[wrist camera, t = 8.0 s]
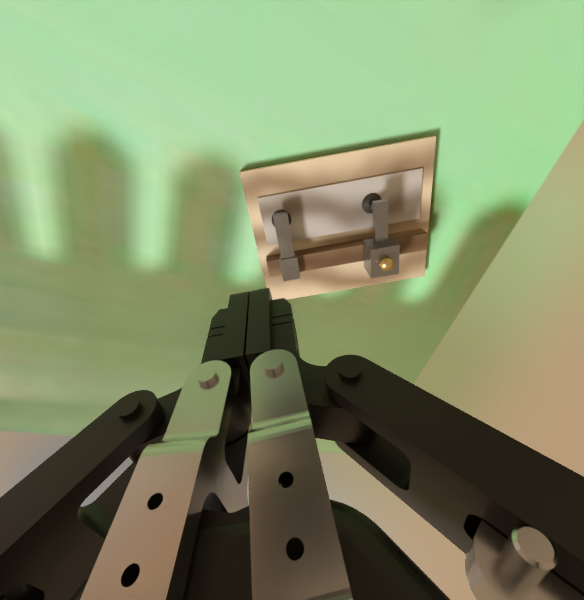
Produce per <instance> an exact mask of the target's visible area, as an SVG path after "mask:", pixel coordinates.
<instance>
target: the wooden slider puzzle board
mask: <svg viewBox="0 0 584 600" xmlns="http://www.w3.org/2000/svg"><path fill="white" fill-rule="evenodd" d="M435 146H436V136H427V137H422V138H416V139H411V140H405V141H400V142H395V143H389V144H384V145H378V146H373V147H367V148H362V149H357V150H351V151H346V152H340V153H335V154H329V155H324V156H318V157H313V158H308V159H302V160H297V161H291V162H286V163H280V164H275V165H270V166H264V167H259V168H253V169H248V170H242V171H240V177H241V181H242V185H243V189H244V194H245V198H246V202H247V206H248V211H249V215H250V219H251V223H252V228H253V232H254V236H255V240H256V245H257V249H258V253H259V257H260V262H261V266H262V270H263V274H264V279H265V283H266V287H267V288H269V289H270V292H271V296H272V300H275V299H281V298H285V299H286V300H287V299H293V298H299V297H304V296H310V295H316V294H322V293H328V292H333V291H339V290H345V289H351V288H356V287H362V286H368V285H374V284H380V283H385V282H391V281H397V280H403V279H409V278H414V277H420V276H425V265H426V253H427V241H428V229H429V217H430V205H431V193H432V181H433V169H434V158H435ZM382 199H387V200H388V201H389V202H388V235H390V236H391V237H392V238H393V239H394V240H395V241H396V242H397V243H398V244H399V245H400V254H399V274H395V275H389V276H383V277H378V278H372V279H371V277H370V276H369V274H368V273H367V271H366V270H365V268H364V257H363V240H366V239H371V238H373V210H372V209H371V208H370V207H369V205H368V204H369V202H370V201H371V200H374V201H376V200H382ZM286 211H287V213H288V219H289V225H290V231H291V237H292V243H293V249H294V254H297V259H298V265H299V272H300V278H301V279H295V280H289V281H284V282H283V277H282V272H281V267H280V262H279V257H280V256H281V255H280V250H279V245H278V240H277V234H276V229H275V224H274V219H273V214H275V213H281V212H286Z"/></svg>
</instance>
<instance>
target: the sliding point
mask: <svg viewBox="0 0 584 600" xmlns="http://www.w3.org/2000/svg"><path fill="white" fill-rule="evenodd" d="M388 202H389V201H388V200H387V199H382V200H376V201H374V200H371V201H370V202H369V204H368V205H369V207H370V208H371V209H372V210H373V238H371V239H366V240H363V257H364V268H365V270H366V271H367V273H368V274H369V276H370V277H371V279H372V278H378V277H383V276H389V275H395V274H399V254H400V245H399V244H398V243H397V242H396V241H395V240H394V239H393V238H392V237H391V236H390V235H388Z"/></svg>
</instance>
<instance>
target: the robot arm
mask: <svg viewBox="0 0 584 600" xmlns="http://www.w3.org/2000/svg"><path fill="white" fill-rule="evenodd" d="M251 414H252V421H251ZM315 438H320V439H326V440H332V441H335V442H336V444H337V445H338V446H339V447H340V448H341V449H342V450H343V451H344V452H345V453H346V454H348V455H349V456H350V457H351V458H352V459H354V460H355V461H356V462H357V463H358V464H359V465H361V466H362V467H363V468H364V469H365V470H367V471H368V472H369V473H370V474H371V475H373V476H374V477H375V478H376V479H377V480H379V481H380V482H381V483H382V484H383V485H384V486H386V487H387V488H388V489H389V490H390V491H392V492H393V493H394V494H395V495H396V496H398V497H399V498H400V499H401V500H402V501H404V502H405V503H406V504H407V505H408V506H409V507H411V508H412V509H413V510H414V511H415V512H417V513H418V514H419V515H420V516H421V517H423V518H424V519H425V520H426V521H427V522H429V523H430V524H431V525H432V526H433V527H434V528H436V529H437V530H438V531H439V532H441V533H442V534H443V535H444V536H445V537H446V538H447V539H449V540H450V541H451V542H452V543H453V544H455V545H456V546H457V547H458V548H459V549H461V550H462V551H463V552H464V553H465V554H466V559H465V569H466V576H467V579H468V582H469V585H470V587H471V590H472V592H473V594H474V595H475V597H476V599H477V600H584V477H583V476H581V475H579V474H577V473H576V472H573V471H572V470H570V469H568V468H566V467H565V466H563V465H561V464H559V463H557V462H555V461H554V460H552V459H550V458H548V457H546V456H544V455H542V454H540V453H539V452H537V451H535V450H533V449H531V448H529V447H528V446H526V445H524V444H522V443H520V442H518V441H517V440H515V439H513V438H511V437H509V436H507V435H506V434H504V433H502V432H500V431H498V430H496V429H495V428H493V427H491V426H489V425H487V424H485V423H484V422H482V421H480V420H478V419H476V418H474V417H472V416H471V415H469V414H467V413H465V412H463V411H461V410H460V409H458V408H456V407H454V406H452V405H450V404H448V403H446V402H445V401H443V400H441V399H439V398H437V397H436V396H434V395H432V394H430V393H428V392H426V391H425V390H423V389H421V388H419V387H417V386H415V385H414V384H412V383H410V382H408V381H406V380H404V379H402V378H401V377H399V376H397V375H395V374H393V373H391V372H390V371H388V370H386V369H384V368H382V367H380V366H379V365H377V364H375V363H373V362H371V361H369V360H367V359H366V358H363V357H361V356H357V355H344V356H340V357H337V358H335V359H334V360H332V361H331V362H330V363H329V364H328V365H327V367H326V366H316V365H312V364H309V363H307V362H305V361H303V360H302V359H301V358H300V354H299V347H298V340H297V334H296V329H295V324H294V319H293V314H292V309H291V304H290V303H289V302H288V301H287V300H286V299H285V298H281V299H275V300H272V296H271V292H270V289H269V288H265V289H259V290H254V291H250V292H243V293H238V294H232V295H230V299H229V304H228V308H226V309H221V310H219V311H218V312H217V313H216V314H215V316H214V317H213V318H212V321H211V325H210V330H209V333H208V338H207V341H206V345H205V350H204V354H203V358H202V362H201V365H199V366H197V367H196V368H194V369H193V370H192V371H191V372H190V373H189V374H188V376H187V378H186V380H185V382H184V385H183V387H182V388H181V389H179V390H177V391H175V392H172V393H170V394H168V395H165V396H163V397H161V398H159V399H157V398H156V396H155V394H154V393H153V392H151V391H148V390H140V391H135V392H132V393H130V394H128V395H126V396H124V397H123V398H121V399H120V400H119V401H117V402H116V403H115V404H114V405H112V406H111V407H110V408H109V409H108V410H106V411H105V412H104V413H103V414H101V415H100V416H99V417H98V418H97V419H95V420H94V421H93V422H92V423H91V424H89V425H88V426H87V427H86V428H84V429H83V430H82V431H81V432H80V433H78V434H77V435H76V436H75V437H74V438H72V439H71V440H70V441H69V442H67V443H66V444H65V445H64V446H63V447H61V448H60V449H59V450H58V451H57V452H55V453H54V454H53V455H52V456H50V457H49V458H48V459H47V460H46V461H44V462H43V463H42V464H41V465H40V466H38V467H37V468H36V469H35V470H33V471H32V472H31V473H30V474H29V475H27V476H26V477H25V478H24V479H23V480H21V481H20V482H19V483H18V484H16V485H15V486H14V487H13V488H12V489H10V490H9V491H8V492H7V493H6V494H4V495H3V496H2V497H1V498H0V600H450V599H449V598H448V597H447V596H446V595H445V594H444V593H443V592H442V591H441V590H440V589H439V588H438V587H437V586H436V584H435V583H433V582H432V580H431V579H430V578H429V577H428V576H427V575H426V574H425V573H424V572H423V571H422V570H421V569H420V568H419V567H418V566H417V565H416V564H415V563H414V562H413V561H412V560H411V559H410V558H409V557H408V556H407V555H406V554H405V553H404V552H403V551H402V550H401V549H400V548H399V547H398V546H397V545H396V544H395V543H394V542H393V540H391V538H390V537H389V536H388V535H387V534H386V533H385V532H384V531H382V529H381V528H380V527H379V526H378V525H377V524H375V523H374V522H373V521H372V520H371V519H369V518H368V517H367V516H366V515H364V514H363V513H361V512H359V511H358V510H356V509H354V508H352V507H350V506H348V505H346V504H343V503H340V502H337V501H333V500H330V499H329V495H328V491H327V487H326V482H325V478H324V474H323V470H322V466H321V461H320V457H319V453H318V448H317V444H316V440H315ZM128 457H130V459H131V460H132V461H133V463H132V464H131V465H130V466H129V467H128V468H127V469H126V470H125V471H124V472H123V473H122V474H121V475H120V476H119V477H118V478H117V479H116V480H115V481H114V482H113V483H112V484H111V485H110V486H109V487H108V488H107V489H106V490H105V491H104V492H103V493H102V494H101V495H100V496H99V497H98V498H97V499H96V500H95V501H94V502H93V503H91V504H89V505H87V506H85V507H80V505H81V504H82V502H83V501H84V500H85V499H86V498H87V497H88V496H89V494H91V493H92V492H93V491H94V490H95V489H96V488H97V487H98V486H99V485H100V484H101V483H102V482H103V481H104V480H105V479H106V478H107V477H108V476H109V475H110V474H111V473H112V472H113V471H114V470H115V469H117V468H118V466H120V465H121V464H122V463H123V462H124V461H125V460H126V459H127V458H128ZM248 476H249V506H248V500H247V481H248Z"/></svg>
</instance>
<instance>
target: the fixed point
mask: <svg viewBox="0 0 584 600" xmlns="http://www.w3.org/2000/svg"><path fill="white" fill-rule="evenodd" d="M273 219H274V224H275V229H276V234H277V240H278V245H279V250H280V255H281V256H280V257H279V262H280V267H281V272H282V277H283V282H284V281H289V280H295V279H301V278H300V272H299V265H298V259H297V254H294V249H293V243H292V237H291V231H290V225H289V219H288V213H287V211H286V212H281V213H275V214H273Z"/></svg>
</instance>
